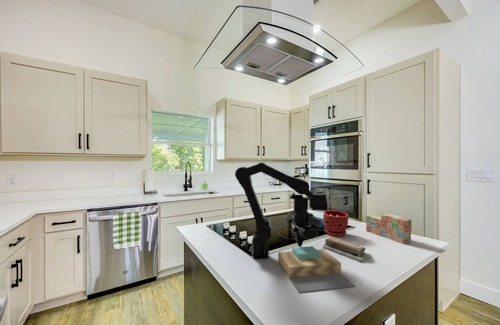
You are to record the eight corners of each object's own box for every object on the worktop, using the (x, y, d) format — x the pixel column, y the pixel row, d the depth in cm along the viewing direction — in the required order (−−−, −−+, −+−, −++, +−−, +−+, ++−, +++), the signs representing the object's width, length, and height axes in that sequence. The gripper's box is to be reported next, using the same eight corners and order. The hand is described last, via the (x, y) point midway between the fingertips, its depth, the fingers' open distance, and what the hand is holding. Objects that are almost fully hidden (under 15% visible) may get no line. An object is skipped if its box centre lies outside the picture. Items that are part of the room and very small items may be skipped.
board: (289, 278, 75) (289, 267, 75) (278, 262, 87) (278, 252, 87) (340, 273, 79) (341, 263, 79) (323, 258, 91) (323, 249, 90)
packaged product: (322, 238, 102) (333, 234, 108) (322, 248, 102) (333, 243, 108) (361, 252, 88) (371, 246, 94) (361, 263, 88) (371, 257, 94)
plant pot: (318, 230, 127) (319, 210, 127) (339, 229, 129) (340, 210, 129) (329, 238, 114) (330, 216, 114) (352, 238, 116) (353, 215, 116)
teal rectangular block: (298, 259, 81) (298, 254, 81) (292, 252, 87) (292, 247, 87) (320, 257, 83) (320, 252, 83) (312, 251, 88) (312, 246, 88)
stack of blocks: (365, 231, 128) (366, 210, 128) (372, 229, 131) (373, 209, 131) (403, 244, 109) (404, 220, 108) (411, 242, 111) (412, 219, 111)
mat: (299, 292, 67) (299, 291, 67) (289, 278, 75) (289, 277, 75) (355, 286, 71) (355, 285, 71) (340, 273, 79) (340, 273, 79)
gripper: (330, 214, 83) (329, 255, 83) (307, 204, 101) (307, 237, 101) (303, 215, 80) (302, 257, 81) (285, 204, 99) (284, 238, 99)
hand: (299, 246), depth 90 cm, fingers closed
